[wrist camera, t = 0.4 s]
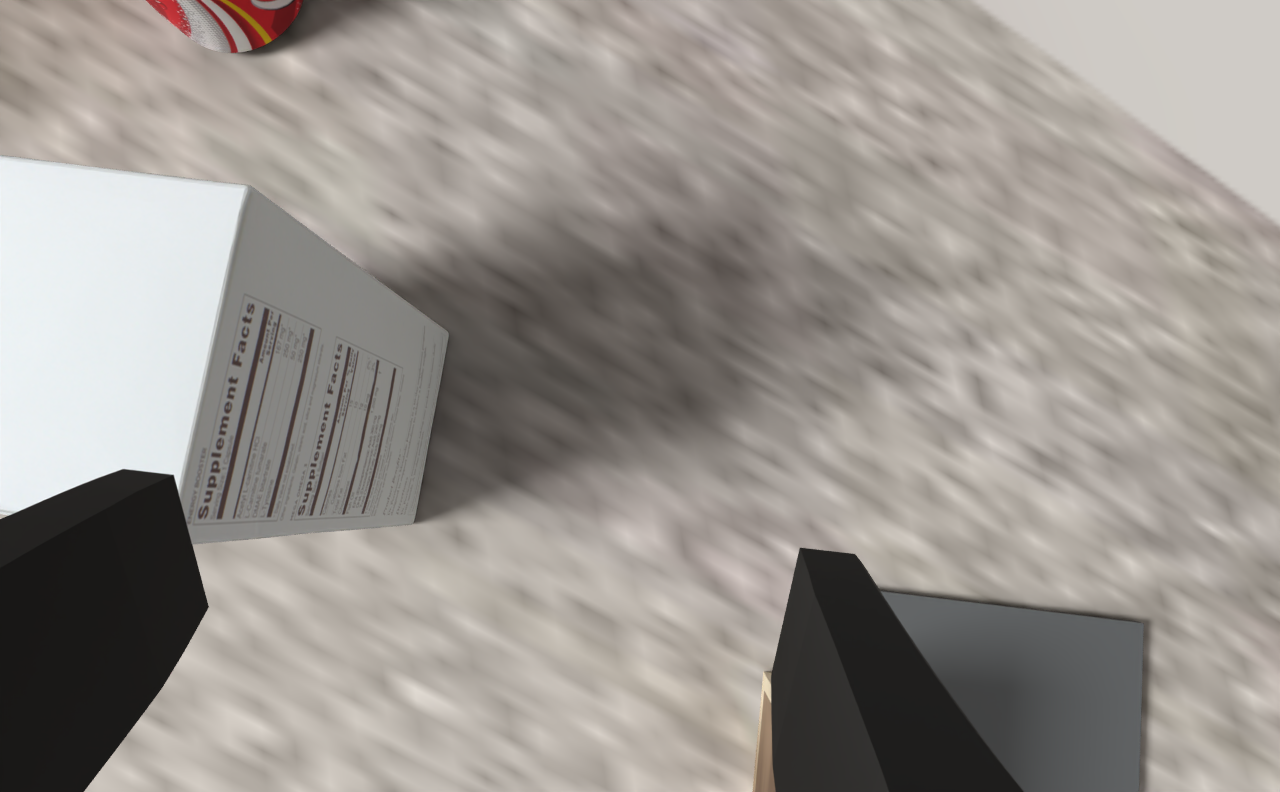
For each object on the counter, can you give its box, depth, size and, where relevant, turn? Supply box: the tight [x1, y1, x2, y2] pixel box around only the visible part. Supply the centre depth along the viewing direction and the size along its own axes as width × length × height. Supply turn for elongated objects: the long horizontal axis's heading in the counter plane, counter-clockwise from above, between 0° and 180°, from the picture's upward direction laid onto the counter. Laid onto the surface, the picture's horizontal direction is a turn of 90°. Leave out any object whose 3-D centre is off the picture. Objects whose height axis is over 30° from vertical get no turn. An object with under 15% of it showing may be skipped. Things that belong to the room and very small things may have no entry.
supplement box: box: [0, 155, 449, 544], centre depth 27 cm, size 10×9×17 cm
